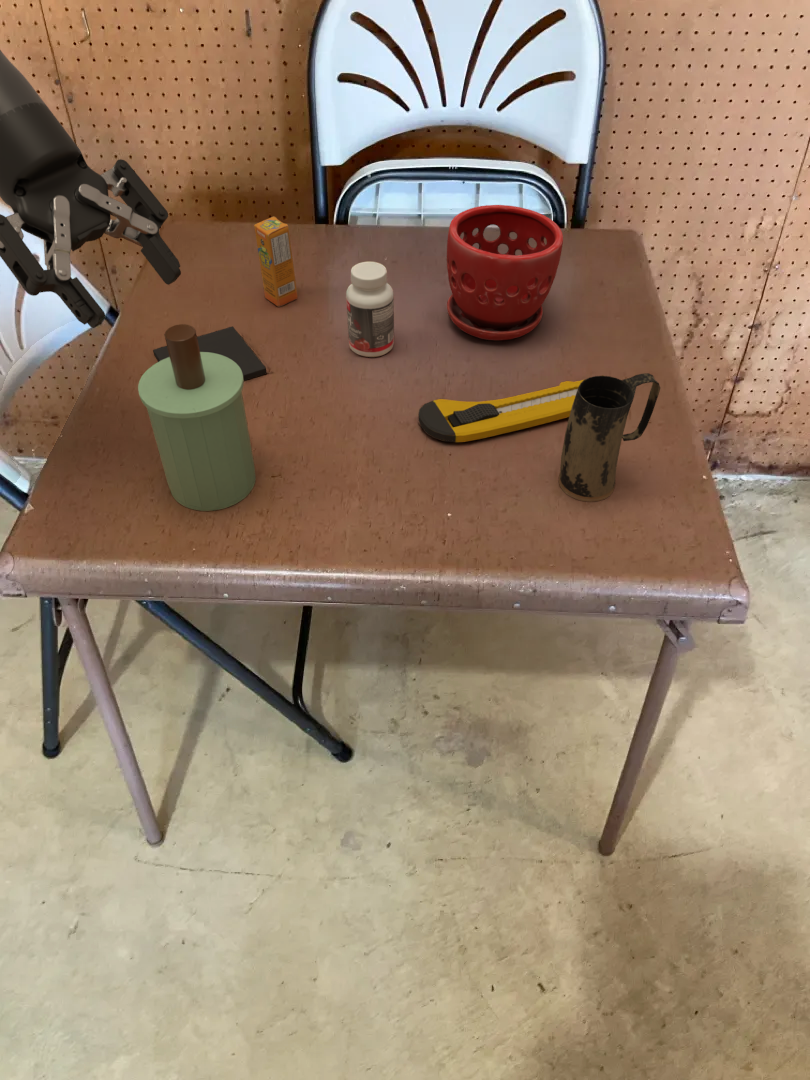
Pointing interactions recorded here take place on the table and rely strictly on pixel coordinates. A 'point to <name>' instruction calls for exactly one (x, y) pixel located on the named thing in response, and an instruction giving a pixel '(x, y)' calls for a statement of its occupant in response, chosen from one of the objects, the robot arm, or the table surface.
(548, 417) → the utility knife
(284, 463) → the table surface
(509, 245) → the flower pot
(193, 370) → the stopper
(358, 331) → the pill bottle
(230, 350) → the mat
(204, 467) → the canister
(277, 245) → the supplement box
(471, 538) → the table surface
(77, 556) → the table surface
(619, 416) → the mug
